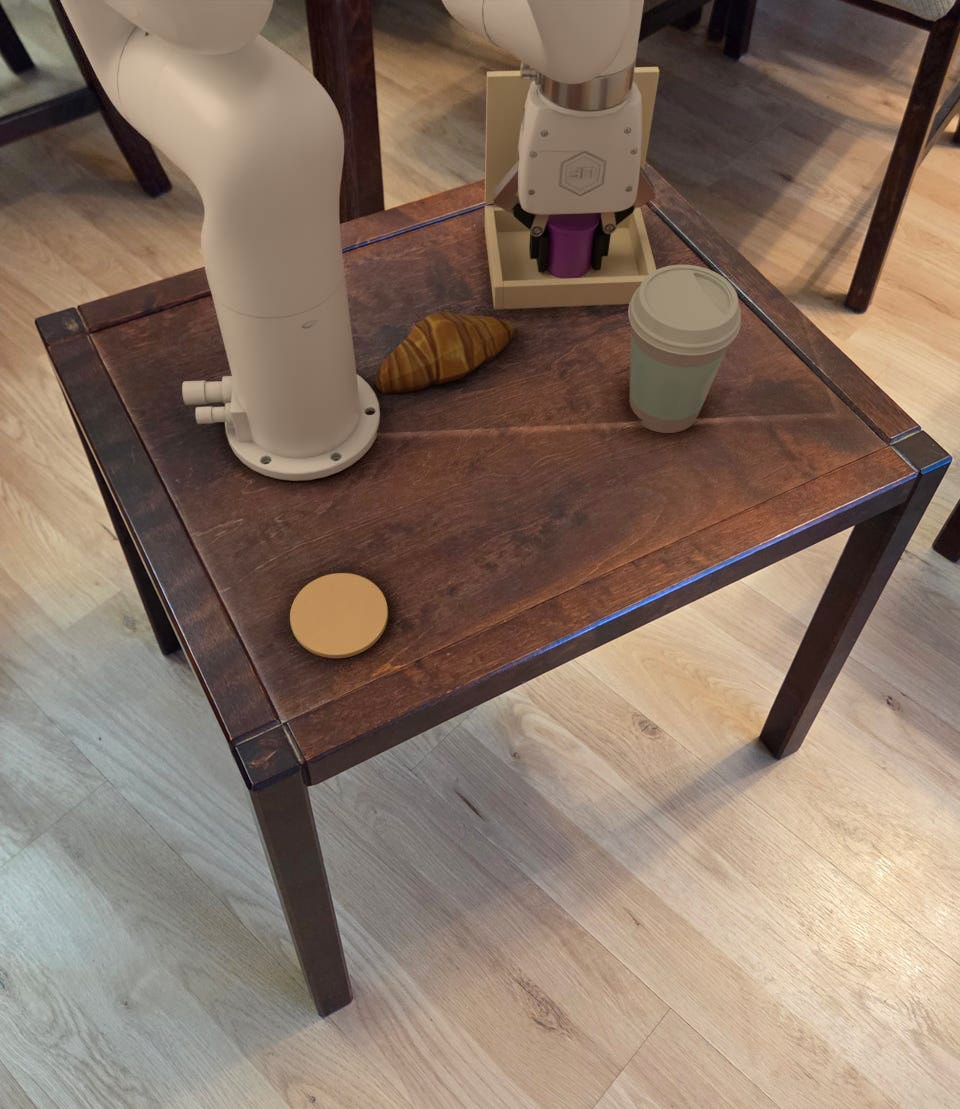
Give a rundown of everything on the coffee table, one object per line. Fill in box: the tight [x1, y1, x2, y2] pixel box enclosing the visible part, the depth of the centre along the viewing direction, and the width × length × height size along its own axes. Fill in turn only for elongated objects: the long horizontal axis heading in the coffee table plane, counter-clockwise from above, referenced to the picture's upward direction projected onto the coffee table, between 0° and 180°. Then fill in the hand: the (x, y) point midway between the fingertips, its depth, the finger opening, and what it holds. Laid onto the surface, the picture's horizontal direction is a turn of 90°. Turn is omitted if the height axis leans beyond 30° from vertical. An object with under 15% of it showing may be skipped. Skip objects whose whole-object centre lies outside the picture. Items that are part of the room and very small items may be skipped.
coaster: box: [289, 572, 389, 659], centre depth 76 cm, size 7×7×1 cm
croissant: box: [373, 311, 516, 395], centre depth 89 cm, size 14×7×5 cm, turn 122°
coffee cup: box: [627, 264, 742, 434], centre depth 84 cm, size 9×8×12 cm
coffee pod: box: [546, 213, 600, 279], centre depth 96 cm, size 5×5×6 cm
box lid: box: [484, 66, 660, 205], centre depth 95 cm, size 12×15×6 cm
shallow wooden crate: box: [484, 204, 657, 310], centre depth 97 cm, size 12×15×3 cm
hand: (567, 260), depth 98 cm, fingers closed on coffee pod, 4 cm apart
